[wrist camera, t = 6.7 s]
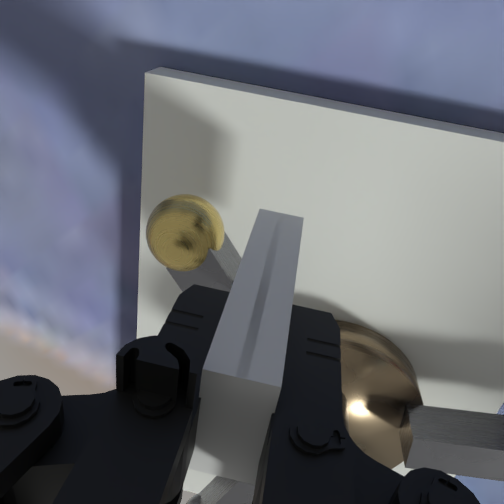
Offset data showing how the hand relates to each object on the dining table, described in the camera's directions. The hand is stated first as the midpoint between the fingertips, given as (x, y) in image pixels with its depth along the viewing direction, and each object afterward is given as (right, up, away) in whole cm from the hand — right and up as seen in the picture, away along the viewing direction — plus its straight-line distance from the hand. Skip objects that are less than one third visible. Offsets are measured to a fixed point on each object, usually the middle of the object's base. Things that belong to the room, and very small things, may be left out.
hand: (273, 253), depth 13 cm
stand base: (+2, -5, +7) cm, 9 cm away
